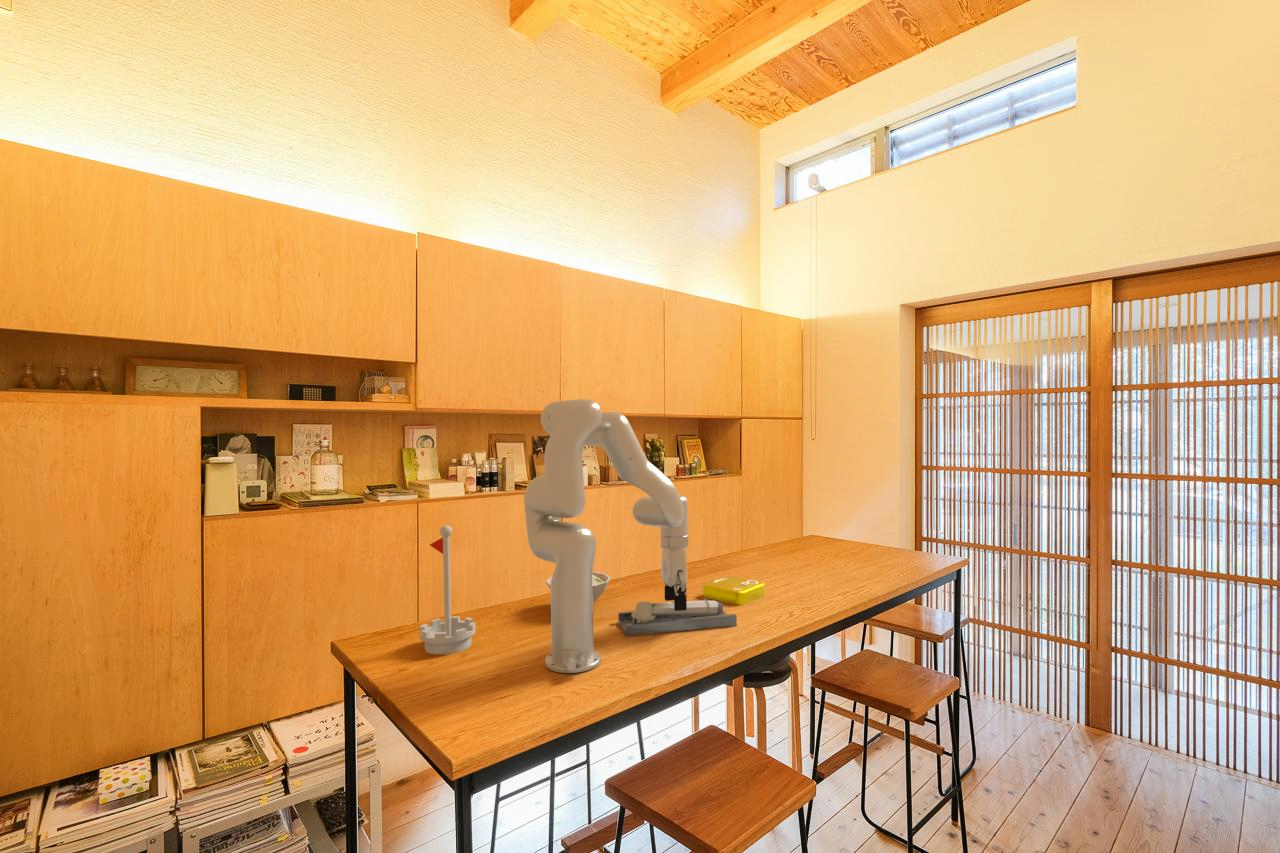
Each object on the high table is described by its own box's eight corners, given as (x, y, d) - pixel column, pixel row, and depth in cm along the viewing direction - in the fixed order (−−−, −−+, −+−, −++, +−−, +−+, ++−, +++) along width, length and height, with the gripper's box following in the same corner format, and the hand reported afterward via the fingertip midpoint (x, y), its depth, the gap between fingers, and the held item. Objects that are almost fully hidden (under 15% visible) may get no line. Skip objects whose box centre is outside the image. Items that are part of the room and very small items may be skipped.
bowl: (589, 596, 187) (589, 564, 187) (624, 610, 171) (623, 576, 171) (534, 607, 175) (534, 574, 176) (566, 624, 160) (565, 587, 160)
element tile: (728, 588, 194) (728, 573, 194) (767, 596, 184) (767, 581, 184) (700, 598, 183) (700, 583, 184) (740, 607, 173) (740, 591, 173)
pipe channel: (736, 625, 156) (736, 615, 156) (626, 636, 149) (626, 625, 149) (721, 612, 167) (721, 603, 167) (618, 622, 160) (618, 612, 160)
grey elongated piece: (722, 602, 160) (637, 601, 151) (719, 627, 160) (634, 627, 151) (713, 597, 165) (630, 596, 156) (710, 621, 164) (627, 621, 155)
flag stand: (485, 639, 149) (483, 522, 149) (453, 658, 137) (450, 530, 137) (443, 634, 154) (441, 520, 154) (408, 652, 141) (406, 528, 142)
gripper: (653, 536, 166) (654, 597, 166) (669, 548, 149) (670, 615, 149) (678, 535, 167) (679, 595, 167) (697, 546, 151) (698, 613, 150)
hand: (675, 605), depth 158 cm, fingers open, 9 cm apart
